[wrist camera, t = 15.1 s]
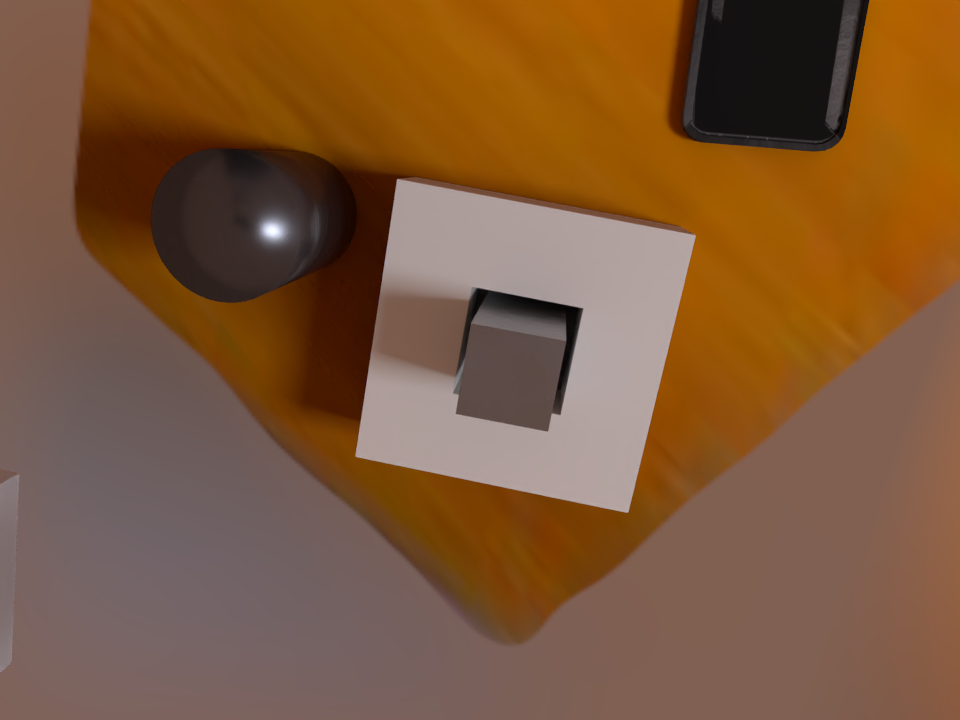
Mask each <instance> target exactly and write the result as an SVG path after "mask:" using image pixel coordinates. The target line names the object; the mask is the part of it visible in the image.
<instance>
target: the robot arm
mask: <svg viewBox="0 0 960 720" xmlns="http://www.w3.org/2000/svg"><path fill="white" fill-rule="evenodd" d="M18 489H19V473H15V472H11V471H6V470H1V469H0V673H1V672H2V671H3V670H4V669H5V668H6V667H7V666H8V665H9V664H10V663H11V661H12V637H13V612H14V611H13V610H14V587H15V562H16V538H17V514H18Z"/></svg>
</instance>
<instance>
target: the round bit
mask: <svg viewBox="0 0 960 720" xmlns="http://www.w3.org/2000/svg"><path fill="white" fill-rule="evenodd" d="M356 217H357V214H356V204H355V199H354V196H353V193H352V190H351V188H350V186H349V184H348V183H347V181H346V179H345V178H344V176H343V175H342V174H341V173H340V171H338V170H337V169H336V168H335V167H334V166H333V165H332V164H331V163H329V162H328V161H326V160H325V159H323V158H321V157H319V156H316V155H314V154H310V153H307V152H299V151H274V150H246V149H208V150H202V151H199V152H196V153H193V154H191V155H189V156H187V157H185V158H183V159H182V160H181V161H179V162H178V163H176V164H175V165H174V166H173V167H172V168H171V169H170V170H169V171H168V172H167V174H166V175H165V176H164V177H163V179H162V181H161V182H160V184H159V186H158V188H157V191H156V193H155V196H154V200H153V203H152V210H151V228H152V235H153V239H154V243H155V246H156V249H157V251H158V254H159V256H160V258H161V260H162V262H163V263H164V265H165V266H166V268H167V269H168V270H169V272H170V273H171V274H172V275H173V276H174V278H176V279H177V280H178V281H179V282H180V283H181V284H182V285H183V286H185V287H186V288H187V289H189V290H190V291H192V292H194V293H196V294H197V295H200V296H202V297H204V298H207V299H210V300H214V301H219V302H242V301H247V300H251V299H254V298H256V297H259V296H261V295H263V294H265V293H268V292H270V291H272V290H274V289H277V288H279V287H281V286H283V285H286V284H288V283H290V282H292V281H294V280H297V279H299V278H301V277H303V276H306V275H308V274H310V273H312V272H315V271H317V270H319V269H321V268H323V267H326V266H328V265H329V264H331V263H333V262H334V261H335V260H336V259H338V258H339V257H340V256H341V255H342V254H343V252H344V251H345V250H346V248H347V247H348V245H349V243H350V241H351V239H352V237H353V234H354V231H355V226H356Z"/></svg>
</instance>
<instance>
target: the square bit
mask: <svg viewBox="0 0 960 720" xmlns="http://www.w3.org/2000/svg"><path fill="white" fill-rule="evenodd" d="M565 345H566V305H564V304H559V303H553V302H548V301H543V300H538V299H533V298H528V297H522V296H517V295H512V294H507V293H502V292H497V291H492V290H489V292H488V294H487V295H486V297H485V299H484V301H483V303H482V304H481V306H480V308H479V310H478V312H477V313H476V315H475V317H474V319H473V320H472V322H471V326H470V332H469V338H468V343H467V349H466V355H465V361H464V367H463V373H462V379H461V385H460V391H459V397H458V403H457V408H456V414H458V415H463V416H469V417H474V418H479V419H484V420H489V421H495V422H500V423H505V424H510V425H515V426H521V427H526V428H531V429H536V430H541V431H547V432H548V430H549V425H550V420H551V415H552V410H553V405H554V400H555V395H556V390H557V385H558V380H559V375H560V370H561V365H562V360H563V355H564V350H565Z"/></svg>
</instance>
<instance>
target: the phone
mask: <svg viewBox="0 0 960 720" xmlns="http://www.w3.org/2000/svg"><path fill="white" fill-rule="evenodd" d="M868 4H869V0H697V8H696V15H695V22H694V30H693V37H692V44H691V52H690V59H689V66H688V74H687V81H686V88H685V96H684V103H683V110H682V126H683V129H684V131H685V132H686V134H687V135H688V136H689V137H690V138H692V139H693V140H695V141H699V142H705V143H717V144H729V145H741V146H753V147H765V148H778V149H790V150H802V151H825V150H827V149H830V148H832V147H833V146H835V145H836V144H837V143H838V142H839V141H840V140H841V138H842V137H843V135H844V132H845V129H846V124H847V118H848V113H849V108H850V102H851V97H852V91H853V86H854V80H855V75H856V69H857V64H858V58H859V53H860V47H861V42H862V37H863V31H864V26H865V20H866V15H867V9H868Z"/></svg>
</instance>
